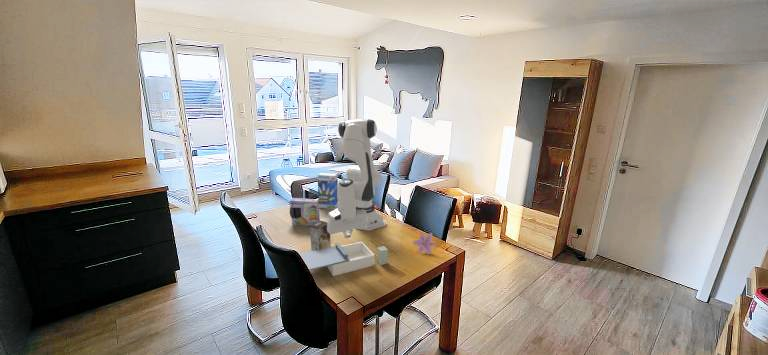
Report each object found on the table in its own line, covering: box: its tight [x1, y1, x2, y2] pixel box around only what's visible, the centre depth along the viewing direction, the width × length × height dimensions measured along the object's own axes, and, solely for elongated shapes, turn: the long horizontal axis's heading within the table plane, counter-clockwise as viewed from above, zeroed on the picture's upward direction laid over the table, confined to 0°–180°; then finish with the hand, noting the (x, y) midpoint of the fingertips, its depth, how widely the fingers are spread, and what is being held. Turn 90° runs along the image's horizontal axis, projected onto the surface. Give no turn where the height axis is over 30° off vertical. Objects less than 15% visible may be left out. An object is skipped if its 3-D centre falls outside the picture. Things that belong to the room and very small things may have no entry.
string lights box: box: [317, 172, 339, 210], centre depth 234 cm, size 13×8×26 cm, turn 81°
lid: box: [299, 242, 350, 271], centre depth 154 cm, size 22×16×3 cm
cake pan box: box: [289, 197, 321, 227], centre depth 203 cm, size 19×5×18 cm, turn 80°
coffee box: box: [309, 220, 332, 251], centre depth 171 cm, size 9×6×16 cm
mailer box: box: [326, 241, 376, 277], centre depth 161 cm, size 22×16×6 cm
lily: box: [411, 232, 437, 255], centre depth 175 cm, size 12×12×10 cm
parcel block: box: [376, 245, 389, 266], centre depth 162 cm, size 4×4×8 cm
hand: (347, 237), depth 158 cm, fingers closed
